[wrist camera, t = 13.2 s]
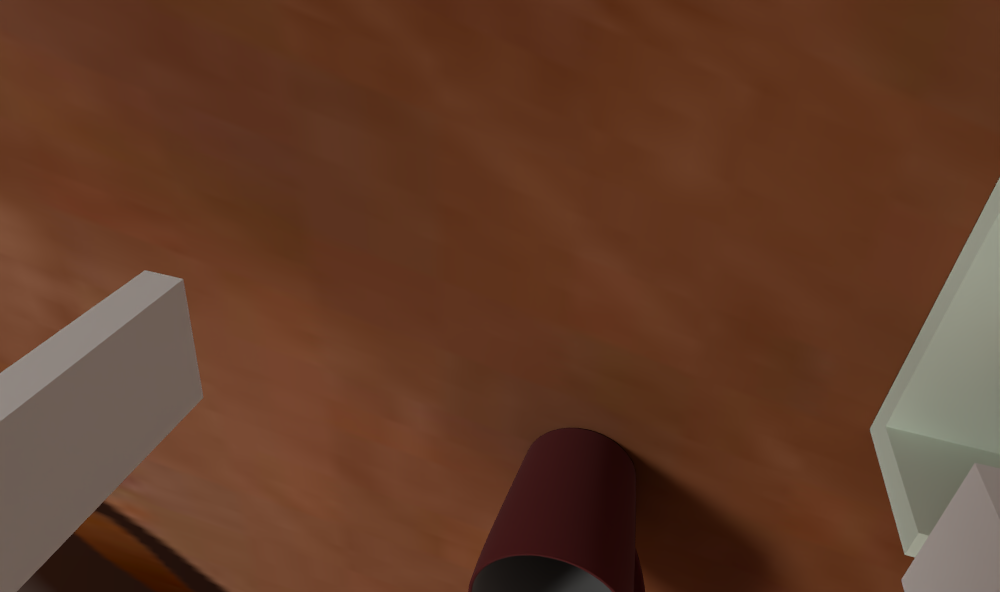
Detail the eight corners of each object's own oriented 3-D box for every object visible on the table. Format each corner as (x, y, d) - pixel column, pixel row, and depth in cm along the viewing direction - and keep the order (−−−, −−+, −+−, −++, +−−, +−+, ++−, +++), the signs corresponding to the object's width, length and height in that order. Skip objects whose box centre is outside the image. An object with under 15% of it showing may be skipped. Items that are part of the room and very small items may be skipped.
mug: (704, 522, 47) (701, 678, 38) (599, 563, 51) (573, 712, 42) (589, 396, 44) (556, 531, 35) (489, 451, 49) (436, 584, 40)
